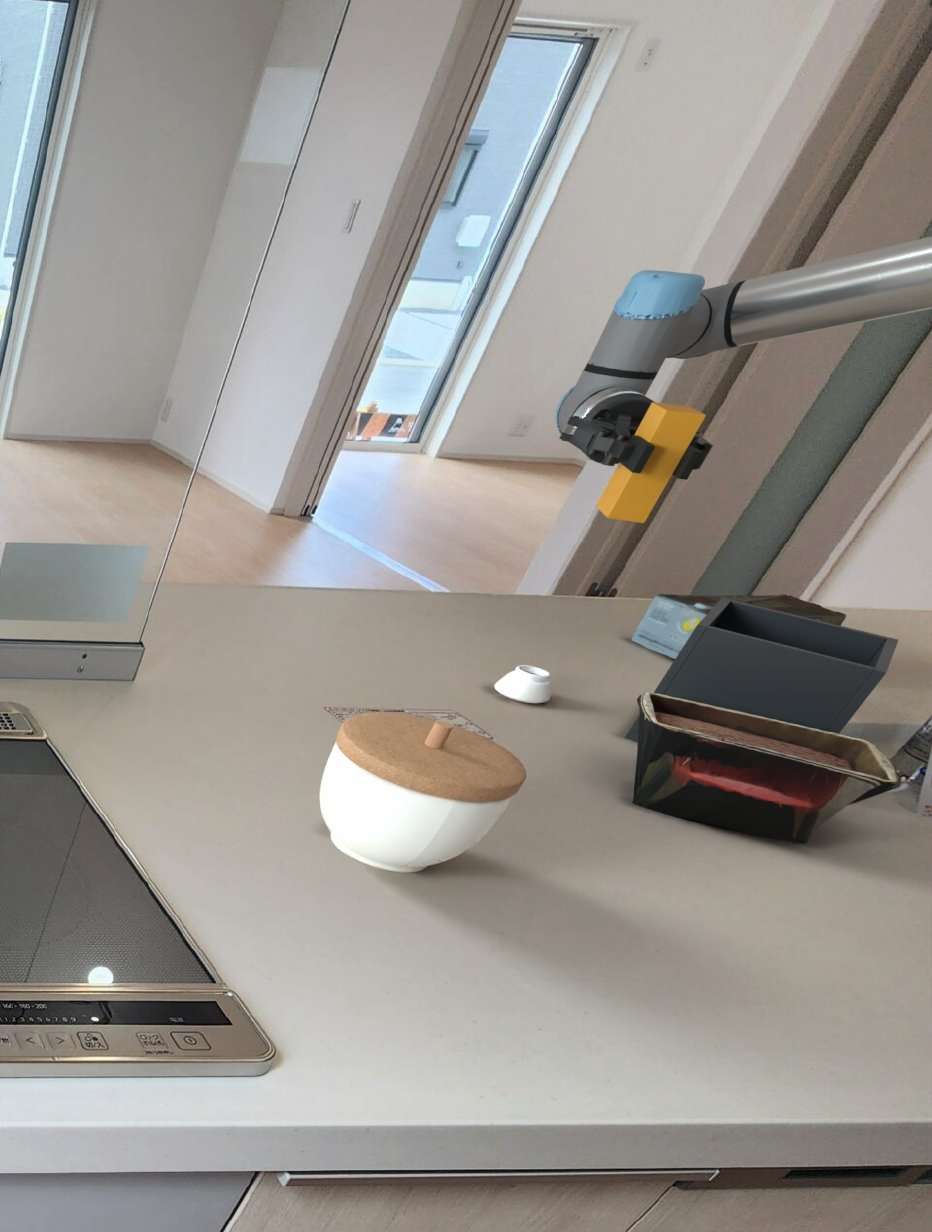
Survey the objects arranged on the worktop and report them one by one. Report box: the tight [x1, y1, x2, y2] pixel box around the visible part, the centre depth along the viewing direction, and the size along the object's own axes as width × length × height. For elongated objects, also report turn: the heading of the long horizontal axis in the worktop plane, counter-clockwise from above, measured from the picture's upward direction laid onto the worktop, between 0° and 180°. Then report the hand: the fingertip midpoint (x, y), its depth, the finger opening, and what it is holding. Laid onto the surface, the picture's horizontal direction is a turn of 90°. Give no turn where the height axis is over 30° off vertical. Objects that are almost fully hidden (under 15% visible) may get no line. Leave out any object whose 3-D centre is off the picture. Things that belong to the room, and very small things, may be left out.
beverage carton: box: [631, 593, 847, 660], centre depth 128 cm, size 8×19×7 cm, turn 96°
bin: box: [624, 598, 899, 743], centre depth 104 cm, size 14×14×12 cm
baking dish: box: [631, 691, 902, 845], centre depth 94 cm, size 14×18×10 cm
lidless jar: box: [493, 664, 552, 704], centre depth 114 cm, size 5×3×5 cm
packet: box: [595, 401, 707, 524], centre depth 117 cm, size 4×6×11 cm, turn 155°
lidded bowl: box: [319, 712, 527, 874], centre depth 83 cm, size 13×13×11 cm
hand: (666, 462), depth 112 cm, fingers closed on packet, 3 cm apart
